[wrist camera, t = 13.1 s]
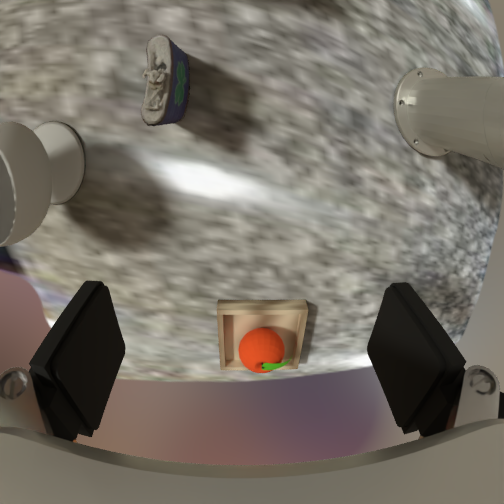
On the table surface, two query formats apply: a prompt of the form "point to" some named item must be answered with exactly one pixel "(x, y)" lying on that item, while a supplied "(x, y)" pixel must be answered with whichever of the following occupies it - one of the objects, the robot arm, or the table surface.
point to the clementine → (262, 350)
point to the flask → (165, 82)
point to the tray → (260, 316)
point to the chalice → (35, 175)
